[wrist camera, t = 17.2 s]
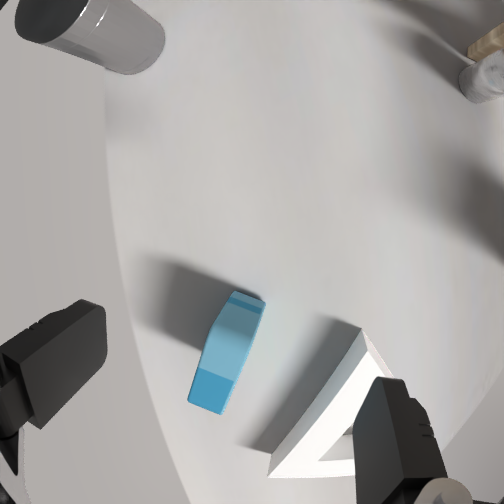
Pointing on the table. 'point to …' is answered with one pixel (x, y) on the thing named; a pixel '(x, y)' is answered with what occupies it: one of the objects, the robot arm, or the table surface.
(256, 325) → the data package
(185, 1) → the table surface
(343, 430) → the triangle block
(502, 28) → the door
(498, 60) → the water bottle
